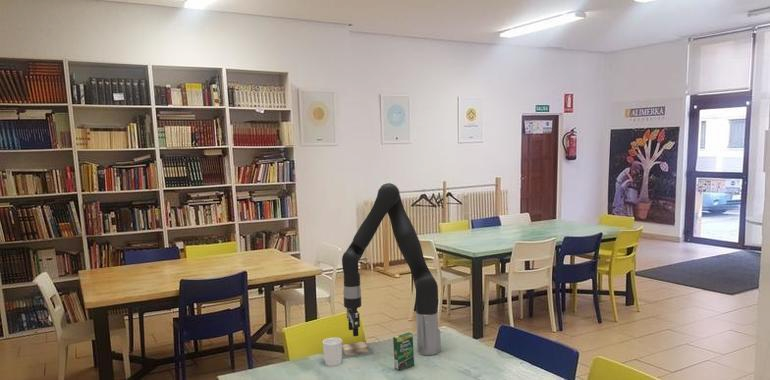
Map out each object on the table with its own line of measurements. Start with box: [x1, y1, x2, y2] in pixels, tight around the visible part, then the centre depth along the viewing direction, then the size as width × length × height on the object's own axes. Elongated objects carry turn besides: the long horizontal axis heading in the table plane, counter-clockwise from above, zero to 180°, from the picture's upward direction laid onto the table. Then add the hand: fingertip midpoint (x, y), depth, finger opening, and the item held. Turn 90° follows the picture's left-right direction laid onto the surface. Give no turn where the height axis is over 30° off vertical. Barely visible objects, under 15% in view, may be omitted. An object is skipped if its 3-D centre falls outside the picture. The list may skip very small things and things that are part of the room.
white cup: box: [322, 337, 343, 367], centre depth 199 cm, size 8×8×10 cm
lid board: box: [342, 341, 369, 356], centre depth 210 cm, size 10×6×2 cm, turn 107°
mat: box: [342, 343, 375, 360], centre depth 210 cm, size 14×12×1 cm
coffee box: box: [392, 332, 415, 372], centre depth 193 cm, size 8×3×13 cm, turn 122°
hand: (353, 332), depth 209 cm, fingers open, 8 cm apart
